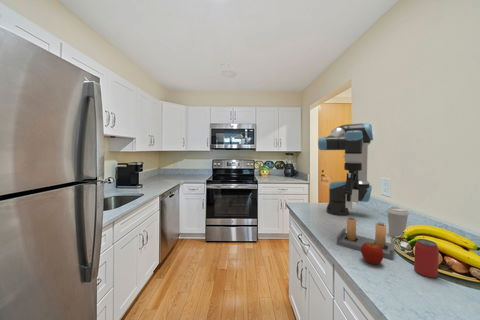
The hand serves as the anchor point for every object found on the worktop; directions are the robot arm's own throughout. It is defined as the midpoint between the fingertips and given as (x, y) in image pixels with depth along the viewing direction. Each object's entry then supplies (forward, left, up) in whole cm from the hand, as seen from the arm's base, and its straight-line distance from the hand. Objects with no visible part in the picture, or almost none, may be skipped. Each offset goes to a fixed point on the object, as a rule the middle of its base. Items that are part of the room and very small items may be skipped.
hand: (352, 204), depth 100 cm
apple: (+14, +11, -20) cm, 26 cm away
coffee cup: (-24, +17, -19) cm, 35 cm away
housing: (0, +6, -19) cm, 20 cm away
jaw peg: (0, 0, -19) cm, 19 cm away
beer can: (+10, +27, -19) cm, 35 cm away
